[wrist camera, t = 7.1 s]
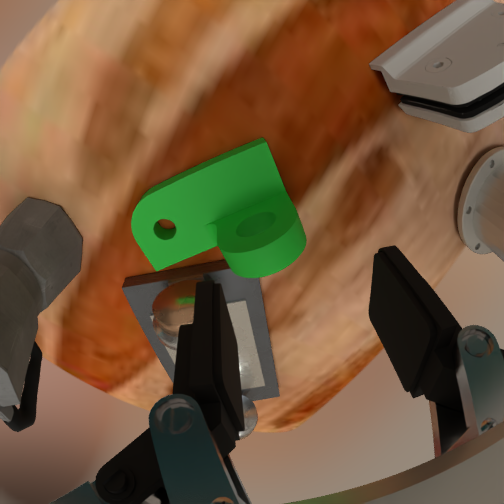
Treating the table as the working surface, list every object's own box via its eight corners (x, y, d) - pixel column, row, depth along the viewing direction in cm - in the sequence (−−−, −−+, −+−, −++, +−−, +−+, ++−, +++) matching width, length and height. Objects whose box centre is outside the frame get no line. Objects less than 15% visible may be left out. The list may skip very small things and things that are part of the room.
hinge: (471, -10, 14) (554, -1, 6) (490, 29, 17) (569, 50, 9) (364, 66, 19) (457, 89, 11) (393, 111, 22) (480, 154, 14)
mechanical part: (262, 136, 22) (283, 165, 15) (289, 203, 25) (316, 256, 18) (124, 201, 23) (90, 253, 17) (159, 258, 26) (144, 322, 20)
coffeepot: (-10, 184, 20) (-138, 307, 5) (66, 165, 21) (-89, 316, 6) (39, 313, 28) (-18, 451, 13) (110, 312, 29) (67, 479, 14)
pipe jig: (125, 277, 27) (105, 337, 21) (254, 254, 27) (266, 313, 21) (189, 399, 38) (189, 447, 32) (278, 387, 38) (287, 435, 32)
